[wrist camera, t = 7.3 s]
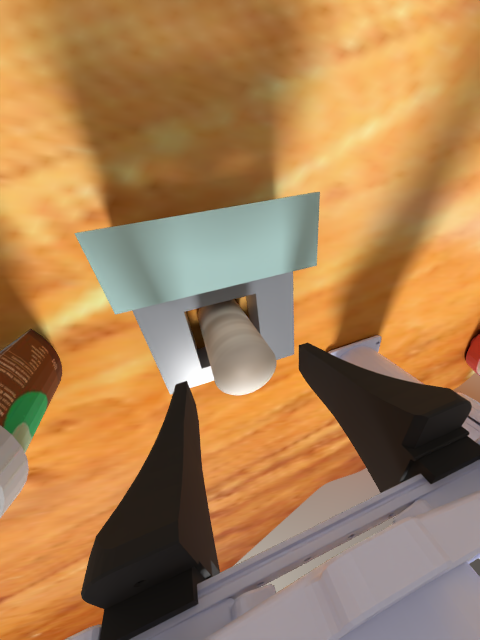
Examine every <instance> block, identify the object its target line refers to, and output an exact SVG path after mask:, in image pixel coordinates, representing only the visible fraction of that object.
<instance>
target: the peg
mask: <svg viewBox="0 0 480 640" xmlns="http://www.w3.org/2000/svg"><path fill="white" fill-rule="evenodd" d="M198 321H199V325H200V328H201V332H202V336H203V339H204V343H205V347H206V351H207V354H208V358H209V362H210V365H211V369H212V373H213V377H214V380H215V383H216V385H217V387H218V388H219V389H220V390H221V391H223V392H225V393H227V394H231V395H244V394H248V393H251V392H254V391H256V390H257V389H259V388H261V387H262V386H263V385H265V384H266V383H267V382H268V381H269V379H270V378H271V377H272V375H273V373H274V371H275V368H276V357H275V354H274V352H273V351H272V350H271V348H270V347H269V346H268V344H267V343H266V341H265V340H264V339H263V337H262V336H261V335H260V333H259V332H258V331H257V329H256V328H255V326H254V325H253V324H252V322H251V321H250V320H249V318H248V317H247V316H246V314H245V313H244V311H243V310H242V309H241V307H240V306H239V305H238V303H237V302H236V301H235V300H234V299H232V300H228V301H225V302H221V303H217V304H213V305H209V306H205V307H201V308H199V311H198Z"/></svg>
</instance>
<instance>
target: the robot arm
mask: <svg viewBox="0 0 480 640" xmlns="http://www.w3.org/2000/svg"><path fill="white" fill-rule="evenodd" d="M380 342H381V336H379V335H377V336H374V337H371V338H368V339H365V340H362V341H359V342H356V343H353V344H350V345H347V346H344V347H341V348H338V349H335V350H332V351H329V352H328V353H327V352H325V351H323V350H321V349H319V348H317V347H315V346H313V345H311V344H309V343H305V344H302V345H299V370H300V372H301V374H302V375H303V377H304V379H305V380H306V382H307V383H308V384H309V386H310V387H311V388H312V389H313V391H314V392H315V393H316V394H317V396H318V397H319V398H320V399H321V400H322V402H323V403H324V404H325V405H326V407H327V408H328V409H329V410H330V411H331V413H332V414H333V415H334V417H335V418H336V420H337V421H338V423H339V424H340V426H341V427H342V429H343V430H344V432H345V433H346V435H347V436H348V438H349V439H350V441H351V443H352V444H353V446H354V447H355V449H356V451H357V452H358V454H359V456H360V457H361V459H362V461H363V462H364V464H365V466H366V467H367V469H368V471H369V473H370V474H371V476H372V478H373V480H374V482H375V483H376V485H377V487H378V489H379V491H380V492H381V493H380V494H378V495H376V496H374V497H372V498H370V499H368V500H366V501H364V502H362V503H360V504H358V505H356V506H354V507H352V508H350V509H348V510H346V511H344V512H342V513H340V514H338V515H336V516H334V517H332V518H330V519H328V520H326V521H324V522H322V523H320V524H318V525H316V526H314V527H312V528H310V529H308V530H306V531H303V532H301V533H300V534H297V535H295V536H293V537H292V538H289V539H287V540H285V541H283V542H281V543H279V544H277V545H275V546H273V547H272V548H269V549H267V550H265V551H263V552H261V553H259V554H257V555H255V556H253V557H251V558H249V559H247V560H245V561H243V562H241V563H239V564H237V565H235V566H233V567H231V568H229V569H227V570H225V571H223V572H221V573H220V570H219V565H218V560H217V554H216V549H215V543H214V538H213V532H212V527H211V521H210V515H209V509H208V503H207V497H206V491H205V485H204V478H203V472H202V463H201V449H200V434H199V420H198V415H197V409H196V404H195V401H194V398H193V396H192V393H191V390H190V388H189V385H188V382H187V381H184V382H181V383H178V384H176V385H175V388H174V392H173V396H172V399H171V403H170V406H169V409H168V412H167V414H166V417H165V420H164V422H163V425H162V427H161V430H160V432H159V435H158V437H157V439H156V441H155V443H154V446H153V448H152V450H151V452H150V454H149V455H148V457H147V459H146V461H145V463H144V465H143V466H142V468H141V470H140V472H139V474H138V475H137V477H136V479H135V480H134V482H133V483H132V485H131V487H130V488H129V490H128V491H127V493H126V494H125V496H124V498H123V499H122V501H121V502H120V504H119V505H118V507H117V508H116V509H115V511H114V512H113V514H112V515H111V516H110V518H109V519H108V521H107V522H106V523H105V525H104V526H103V528H102V529H101V531H100V532H99V533H98V535H97V536H96V538H95V542H94V545H93V548H92V551H91V554H90V558H89V561H88V566H87V570H86V574H85V579H84V583H83V587H82V591H81V596H82V599H83V600H84V601H86V602H87V603H89V604H92V605H95V606H97V607H100V608H103V609H104V615H103V621H102V625H96V626H92V627H90V628H87V629H85V630H83V631H81V632H79V633H77V634H75V635H73V636H71V637H69V638H67V639H65V640H480V577H479V576H478V575H477V573H476V572H475V571H474V570H473V569H472V567H471V566H470V565H469V564H470V563H471V562H473V561H474V560H476V559H477V558H479V559H480V403H479V402H477V401H475V400H473V399H472V398H470V397H468V396H467V395H465V394H463V393H460V392H454V391H453V390H451V389H448V388H442V387H436V386H430V385H425V384H423V383H422V382H420V381H419V380H417V379H416V378H415V377H413V376H412V375H410V374H409V373H407V372H406V371H404V370H403V369H401V368H400V367H398V366H397V365H396V364H394V363H393V362H391V361H390V360H388V359H387V358H385V357H384V356H382V355H381V354H379V353H378V351H379V346H380ZM396 515H397V516H396ZM394 516H396V517H394ZM392 517H394V518H393V524H392V525H390V526H388V527H387V528H385V529H383V530H381V531H379V532H377V533H375V534H374V535H372V536H370V537H368V538H366V539H364V540H362V541H360V542H359V543H357V544H355V545H353V546H351V547H349V548H347V549H346V550H344V551H342V552H341V553H339V554H338V555H336V556H334V557H332V558H331V559H329V560H328V561H326V562H324V563H323V564H321V565H320V566H318V567H316V568H315V569H313V570H312V571H310V572H308V573H307V574H305V575H304V576H302V577H301V578H299V579H298V580H296V581H294V582H293V583H291V584H290V585H288V586H287V587H285V588H283V589H282V590H280V591H279V592H277V593H276V591H275V587H274V585H272V584H269V585H266V586H263V585H265V584H267V583H269V582H271V581H273V580H275V579H277V578H278V577H280V576H282V575H284V574H286V573H288V572H290V571H292V570H294V569H296V568H297V567H299V566H301V565H303V564H305V563H307V562H309V561H311V560H312V559H314V558H316V557H318V556H320V555H322V554H324V553H326V552H328V551H330V550H332V549H333V548H335V547H337V546H339V545H341V544H343V543H345V542H347V541H349V540H351V539H352V538H354V537H356V536H358V535H360V534H362V533H364V532H366V531H368V530H369V529H371V528H373V527H375V526H377V525H379V524H381V523H383V522H385V521H386V520H388V519H390V518H392ZM261 586H263V587H261Z"/></svg>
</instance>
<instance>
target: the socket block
mask: <svg viewBox="0 0 480 640" xmlns="http://www.w3.org/2000/svg"><path fill="white" fill-rule="evenodd" d="M319 198H320V192H314V193H308V194H302V195H297V196H291V197H285V198H279V199H273V200H267V201H261V202H255V203H249V204H244V205H238V206H232V207H226V208H220V209H214V210H208V211H202V212H196V213H191V214H185V215H179V216H173V217H167V218H161V219H155V220H149V221H143V222H138V223H132V224H126V225H120V226H114V227H108V228H102V229H96V230H90V231H85V232H79V233H75V235H76V237H77V239H78V241H79V243H80V245H81V247H82V249H83V251H84V253H85V255H86V257H87V259H88V261H89V263H90V265H91V267H92V269H93V271H94V273H95V275H96V277H97V279H98V281H99V283H100V285H101V287H102V289H103V291H104V293H105V295H106V297H107V299H108V301H109V303H110V305H111V307H112V309H113V311H114V313H115V314H119V313H123V312H127V311H131V310H132V311H133V313H134V315H135V317H136V320H137V322H138V324H139V326H140V328H141V331H142V333H143V335H144V337H145V340H146V342H147V344H148V346H149V348H150V351H151V353H152V355H153V357H154V360H155V362H156V364H157V366H158V368H159V371H160V373H161V375H162V377H163V380H164V382H165V384H166V386H167V388H168V391H169V393H170V394H173V392H174V388H175V385H176V384H178V383H181V382H184V381H187V382H188V385H189V388H192V387H195V386H198V385H201V384H204V383H207V382H210V381H213V380H214V377H213V373H212V369H211V365H210V362H209V358H208V354H207V351H206V347H203V348H200V349H197V345H196V342H195V339H194V336H193V332H192V329H191V326H190V323H189V319H188V316H187V313H186V311H189V310H193V309H197V308H201V307H205V306H209V305H213V304H217V303H221V302H225V301H228V300H232V299H236V298H240V297H244V296H246V300H247V307H248V314H249V320H250V321H251V322H252V324H253V325H254V326H255V328H256V329H257V331H258V332H259V333H260V335H261V336H262V337H263V339H264V340H265V341H266V343H267V344H268V346H269V347H270V348H271V350H272V351H273V352H274V354H275V357H276V360H278V359H281V358H284V357H287V356H290V355H293V354H294V315H293V271H296V270H300V269H304V268H308V267H312V266H317V244H318V221H319Z"/></svg>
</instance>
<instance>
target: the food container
mask: <svg viewBox="0 0 480 640" xmlns="http://www.w3.org/2000/svg"><path fill="white" fill-rule="evenodd" d="M61 376H62V365H61V362H60V359H59V357H58V355H57V353H56V351H55V350H54V349H53V347H52V346H51V345H50V344H49V343H48V342H47V341H46V340H45V339H44V338H43V337H42V336H40V335H39V334H38V333H36V332H35V331H34V330H32V329H30V330H29V331H28V332H26V333H25V334H23V335H22V336H21V337H19V338H18V339H16V340H15V341H14V342H12V343H11V344H10V345H8V346H7V347H5V348H4V349H3V350H1V351H0V518H1V516H2V515H3V514H4V513H5V511H6V510H7V509H8V507H9V506H10V505H11V503H12V502H13V501H14V499H15V498H16V497H17V496H18V494H19V493H20V492H21V490H22V488H23V486H24V484H25V482H26V480H27V475H28V470H29V469H28V461H27V457H26V455H25V452H26V450H27V448H28V446H29V444H30V442H31V440H32V438H33V436H34V434H35V432H36V430H37V428H38V426H39V423H40V421H41V419H42V417H43V415H44V413H45V411H46V409H47V407H48V405H49V403H50V401H51V399H52V397H53V395H54V393H55V391H56V389H57V387H58V385H59V383H60V381H61Z"/></svg>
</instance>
